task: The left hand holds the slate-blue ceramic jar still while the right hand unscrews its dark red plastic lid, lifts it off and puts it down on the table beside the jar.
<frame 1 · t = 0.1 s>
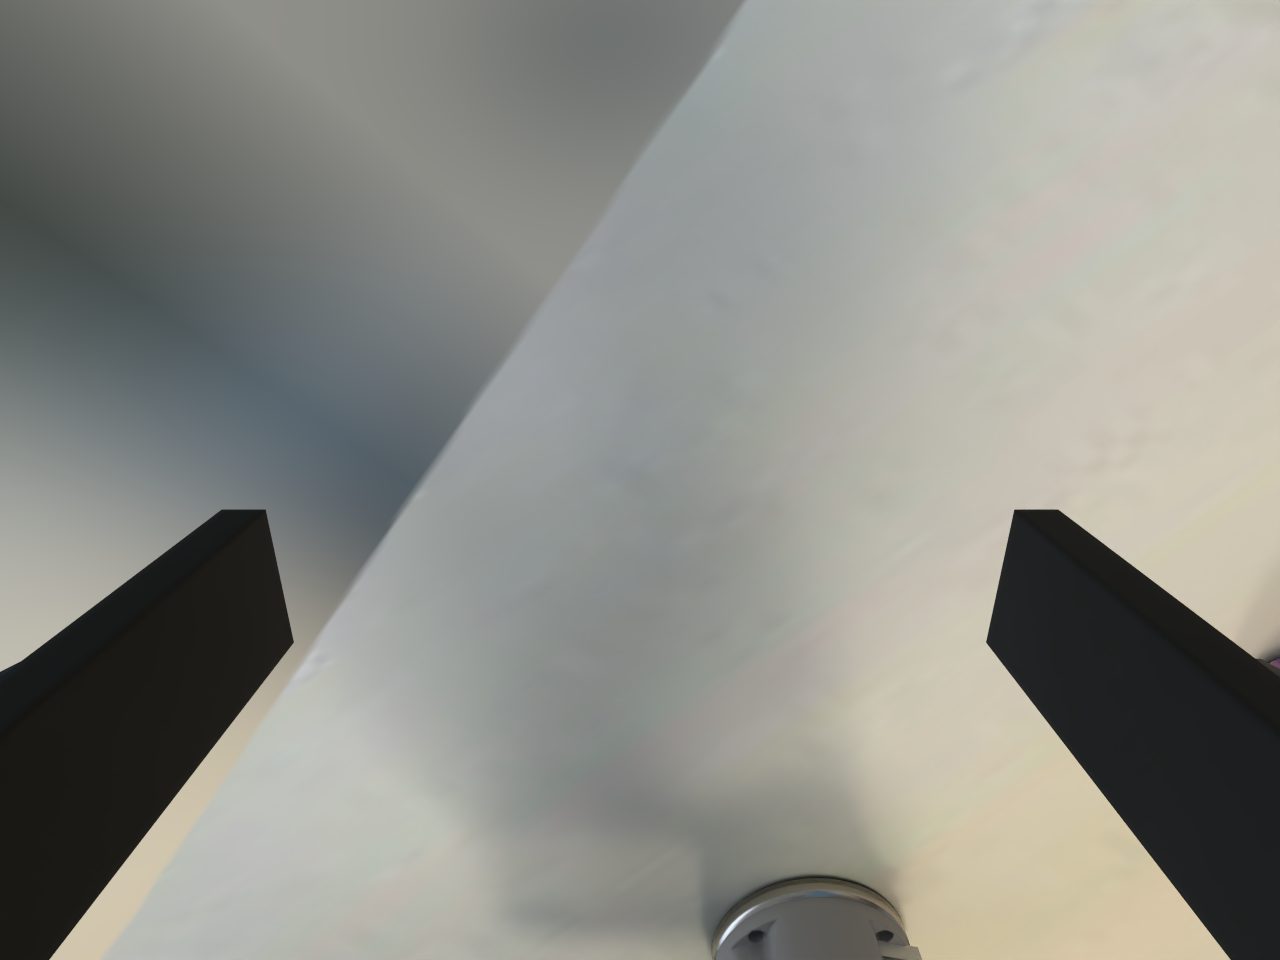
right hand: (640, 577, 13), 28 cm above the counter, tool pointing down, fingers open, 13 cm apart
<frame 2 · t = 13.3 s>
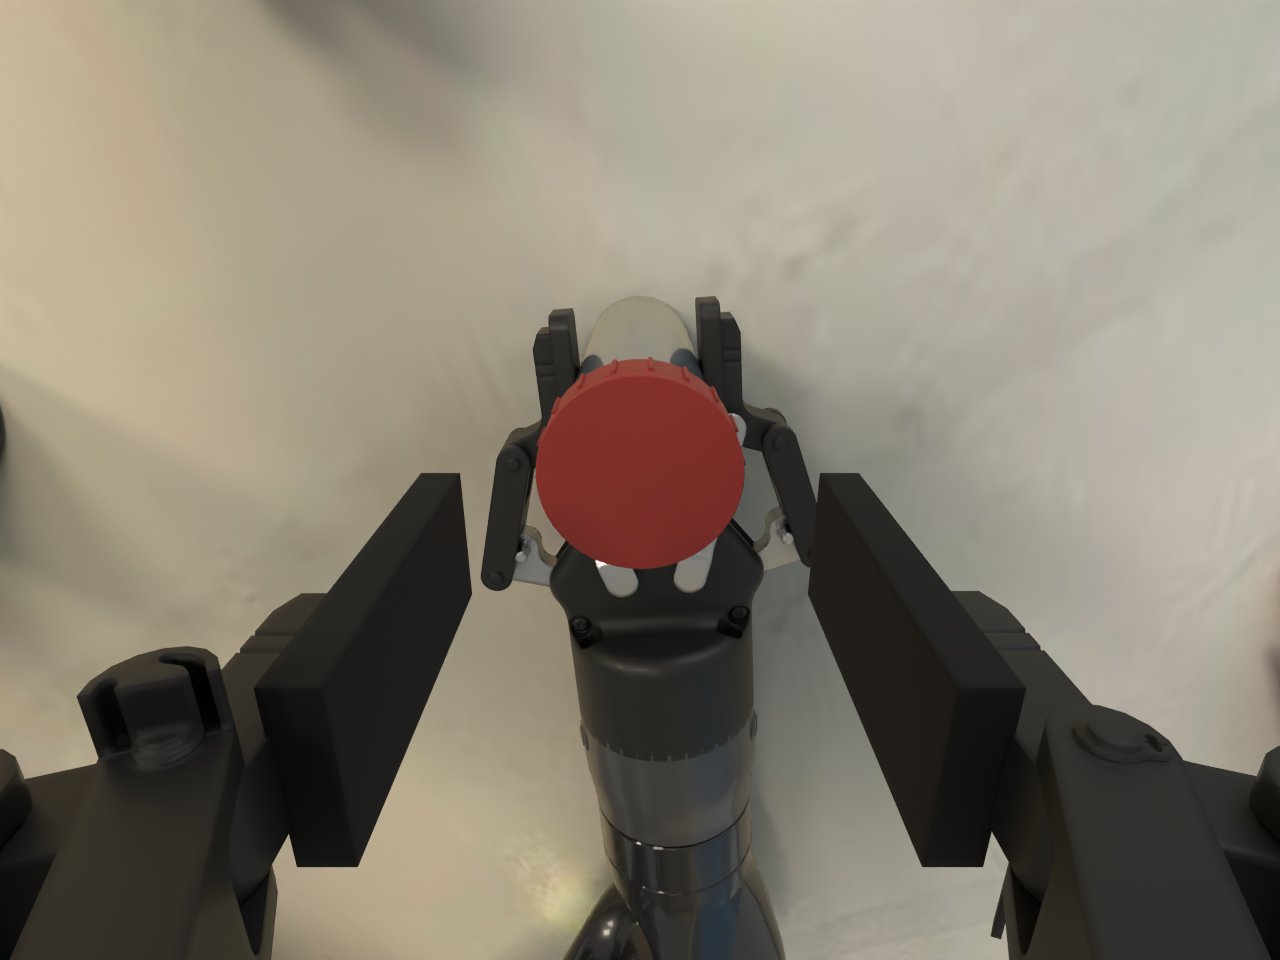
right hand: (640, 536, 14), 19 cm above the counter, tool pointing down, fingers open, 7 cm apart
left hand: (634, 308, 25), fingers closed on jar, 4 cm apart
jar: (640, 347, 32), on the counter, touching left hand
lid: (640, 472, 18), point 16 cm above the counter, screwed on, not yet turned
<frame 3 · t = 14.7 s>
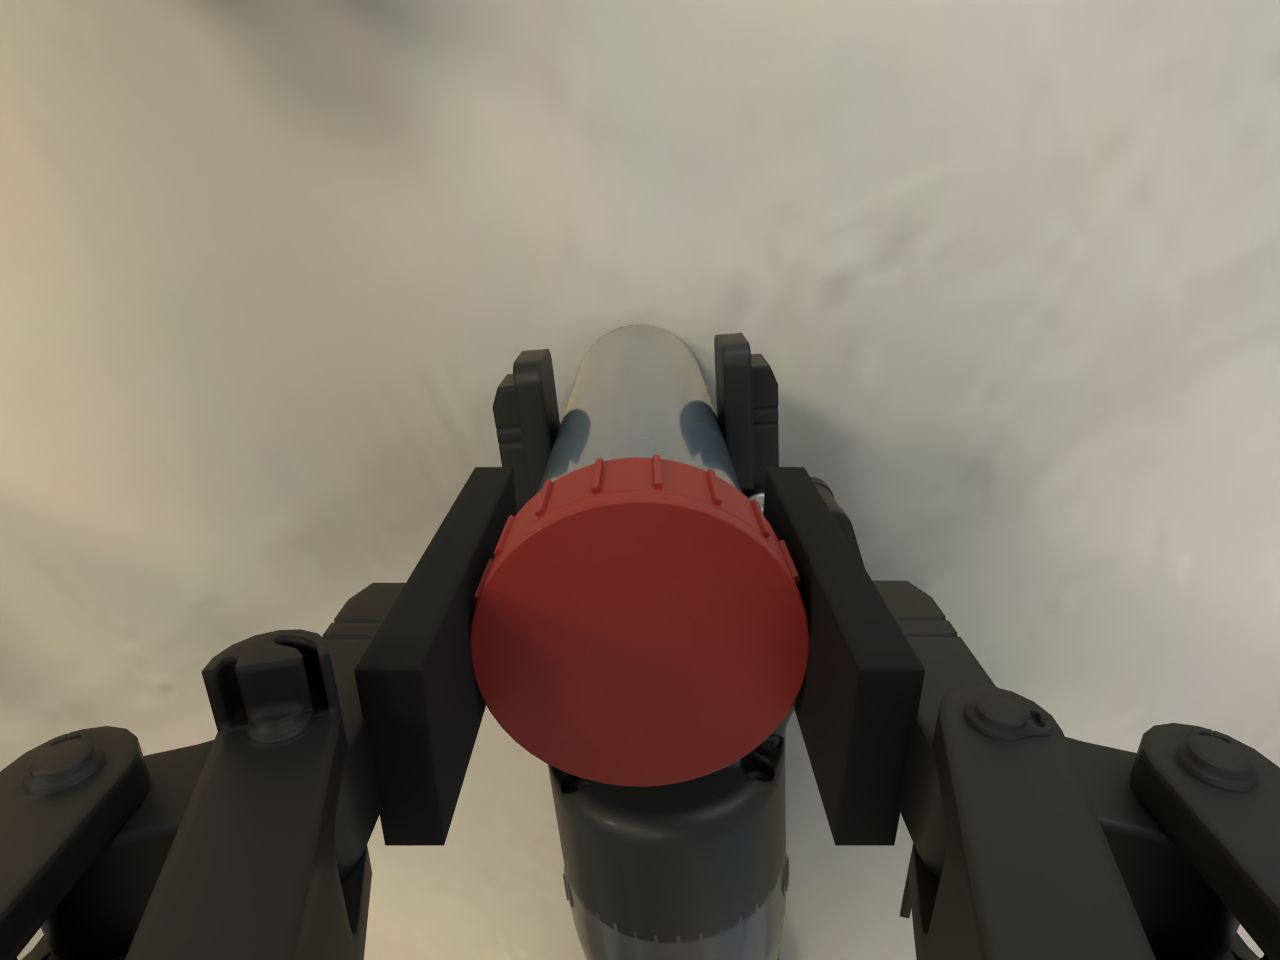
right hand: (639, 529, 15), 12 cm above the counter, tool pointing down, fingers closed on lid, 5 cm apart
jar: (639, 387, 25), on the counter, touching left hand
lid: (639, 643, 11), point 16 cm above the counter, screwed on, not yet turned, touching right hand
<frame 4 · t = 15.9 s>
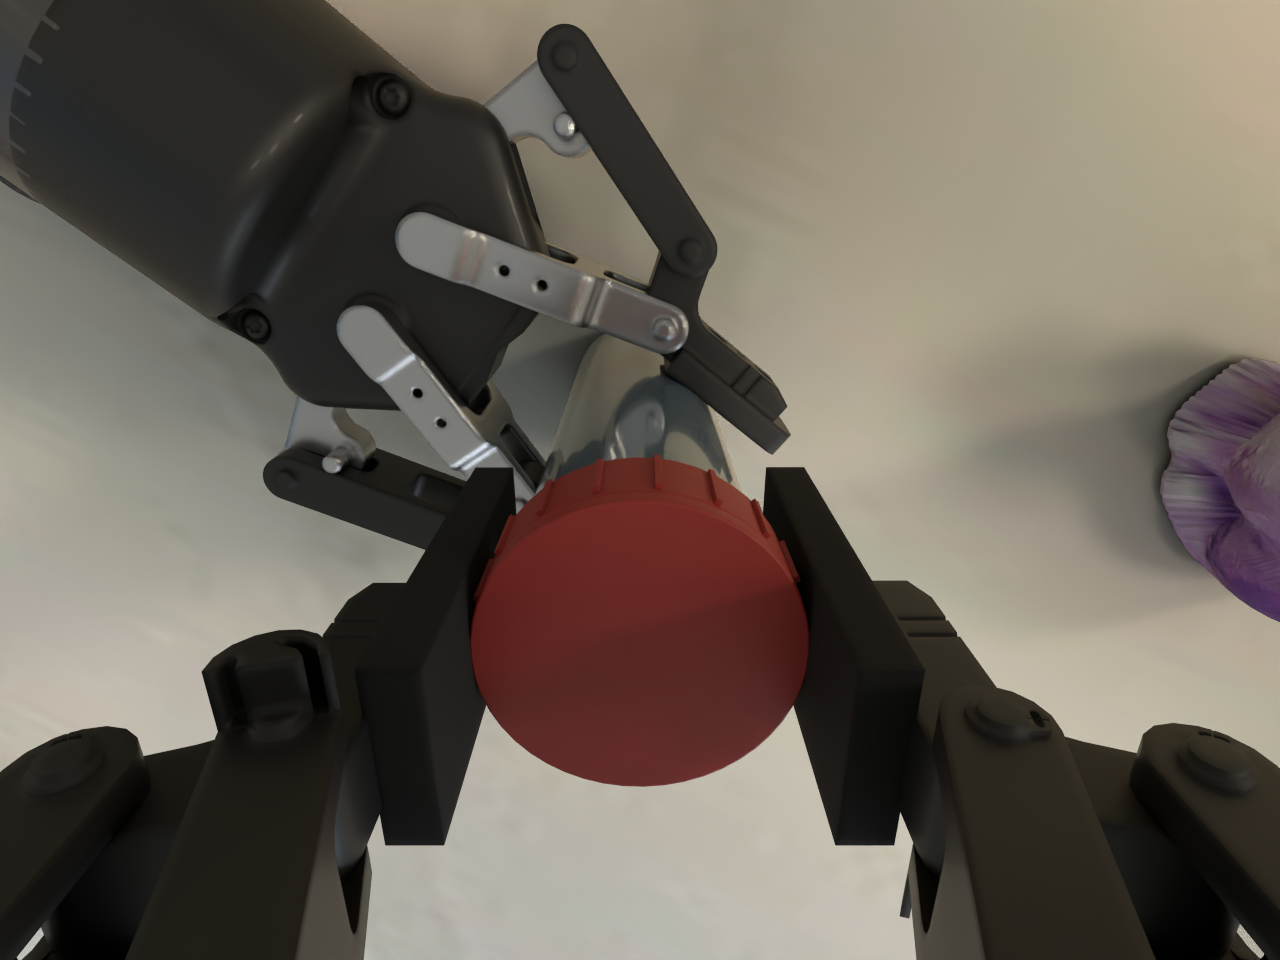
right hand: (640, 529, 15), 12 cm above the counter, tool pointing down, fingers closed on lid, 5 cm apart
left hand: (712, 502, 20), fingers closed on jar, 4 cm apart
jar: (639, 384, 26), on the counter, touching left hand
lid: (639, 643, 11), point 16 cm above the counter, off its thread, touching right hand
figurine: (1249, 469, 27), on the counter
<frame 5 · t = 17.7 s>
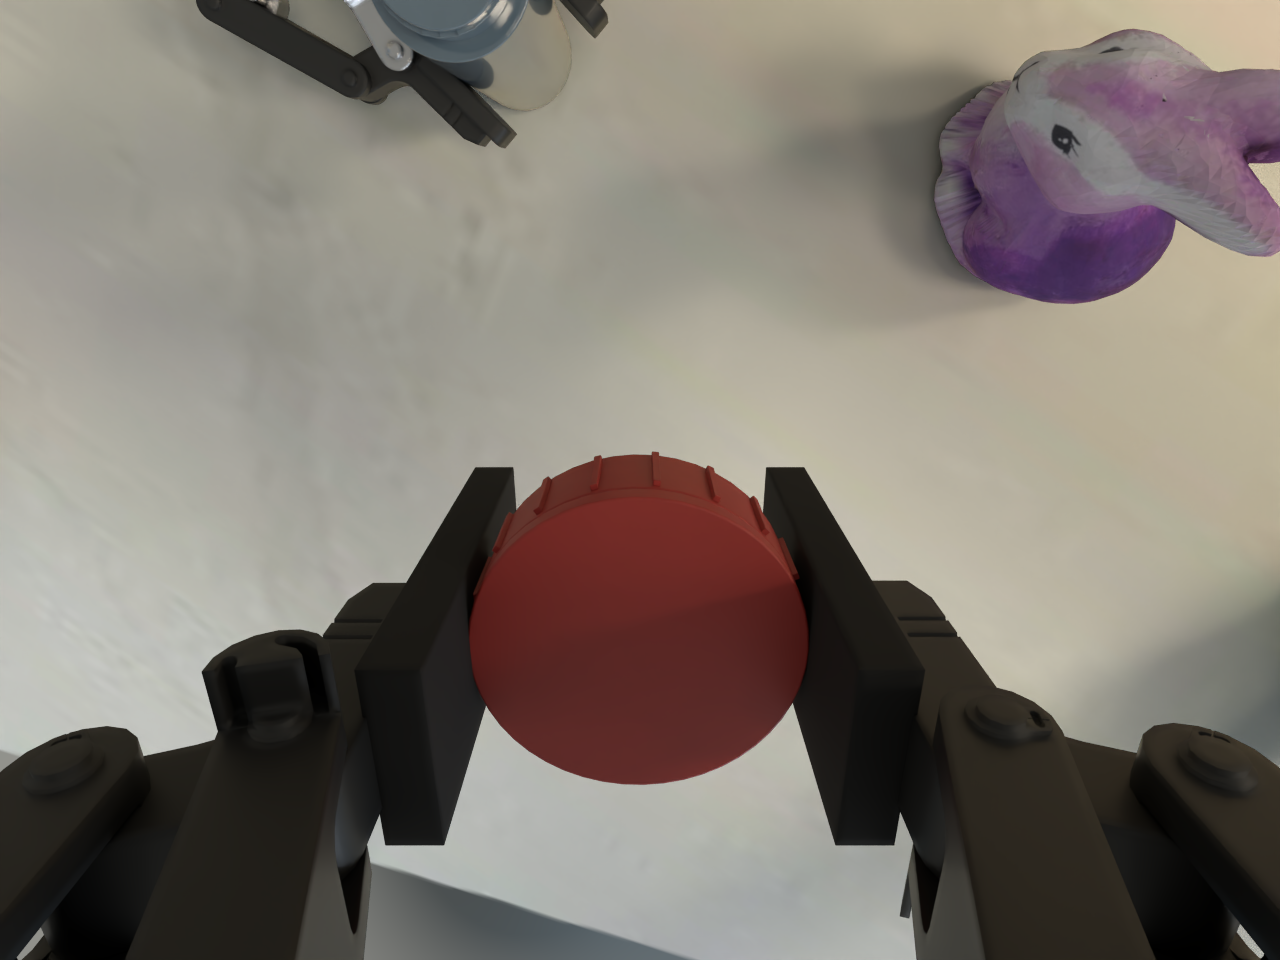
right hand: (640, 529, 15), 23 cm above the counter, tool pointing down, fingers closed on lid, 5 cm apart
jar: (520, 54, 32), on the counter, touching left hand
lid: (638, 640, 11), point 27 cm above the counter, off its thread, touching right hand
figurine: (1004, 188, 34), on the counter
when the right hand's fingers open (0 cm above the counter, at t = 21.1 s): lid drops 3 cm, point 1 cm above the counter.
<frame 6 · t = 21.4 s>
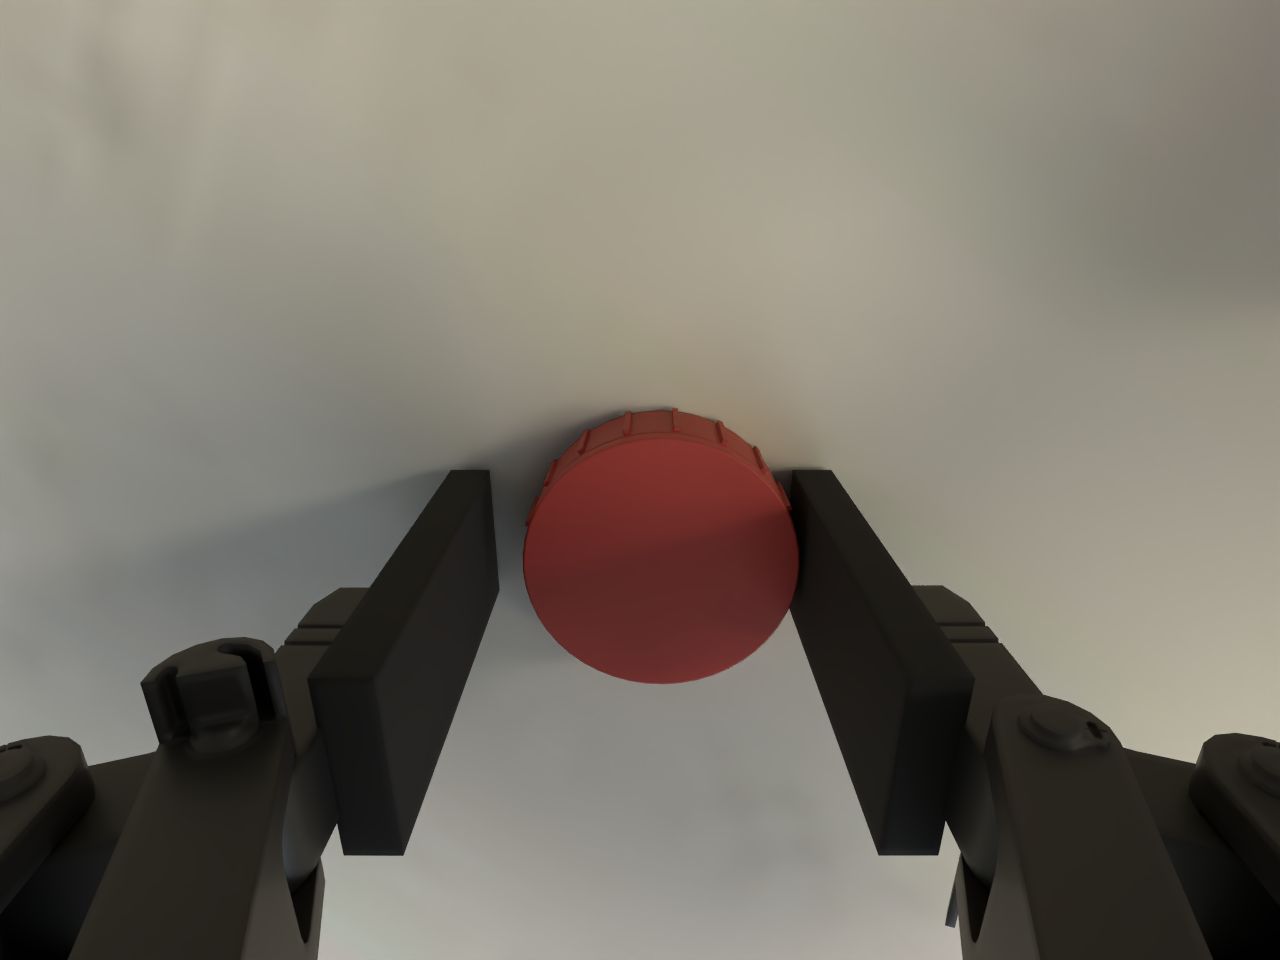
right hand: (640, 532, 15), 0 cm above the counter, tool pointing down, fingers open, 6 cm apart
lid: (660, 561, 13), point 1 cm above the counter, off its thread
when the left hand's fingers open (7 cm above the counter, at t = 22.2 s): jar stays where it is, on the counter.
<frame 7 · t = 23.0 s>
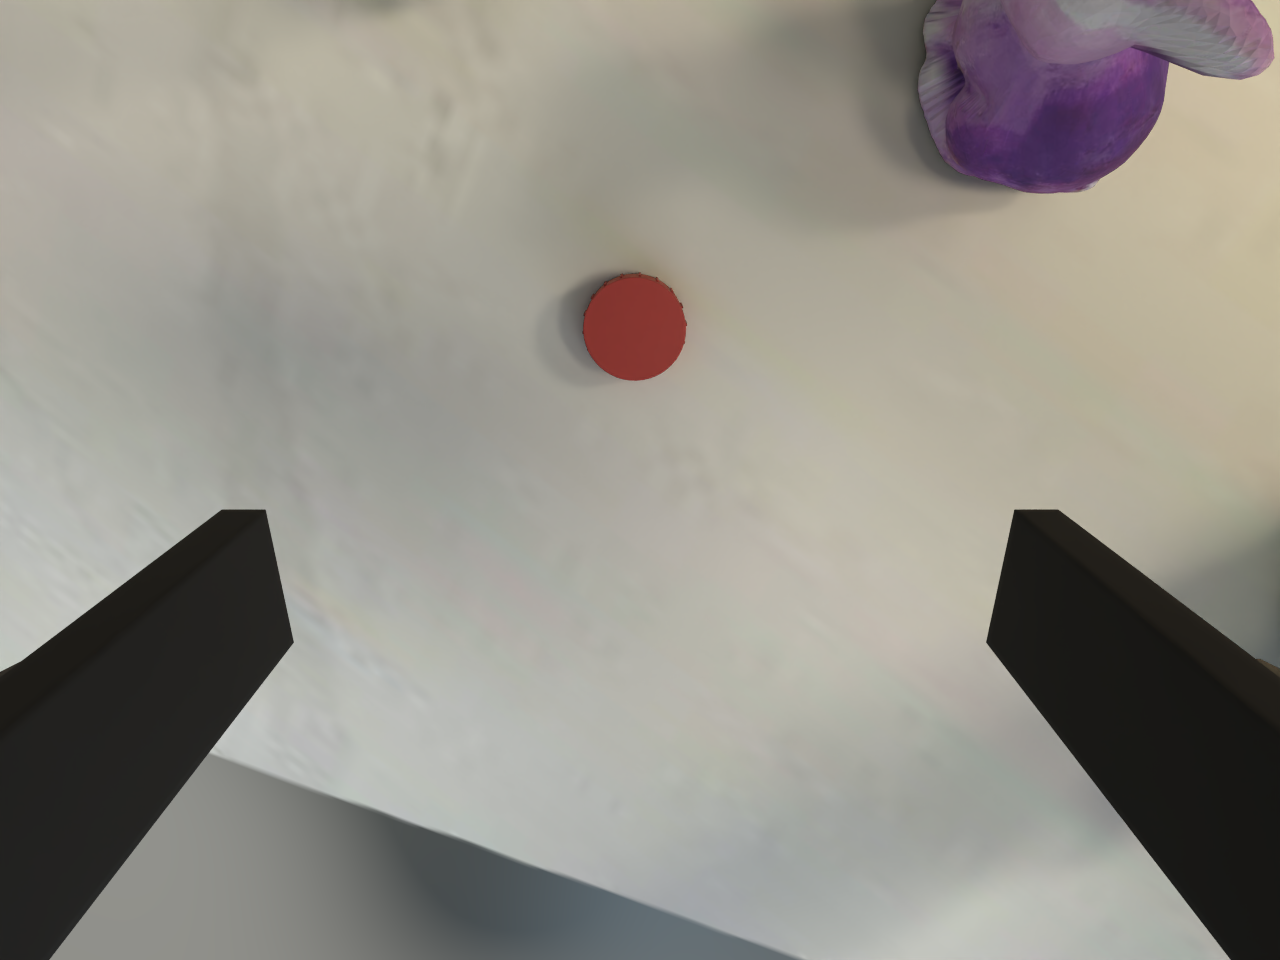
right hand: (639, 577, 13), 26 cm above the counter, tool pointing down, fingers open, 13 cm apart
lid: (634, 329, 36), point 1 cm above the counter, off its thread
figurine: (991, 80, 33), on the counter
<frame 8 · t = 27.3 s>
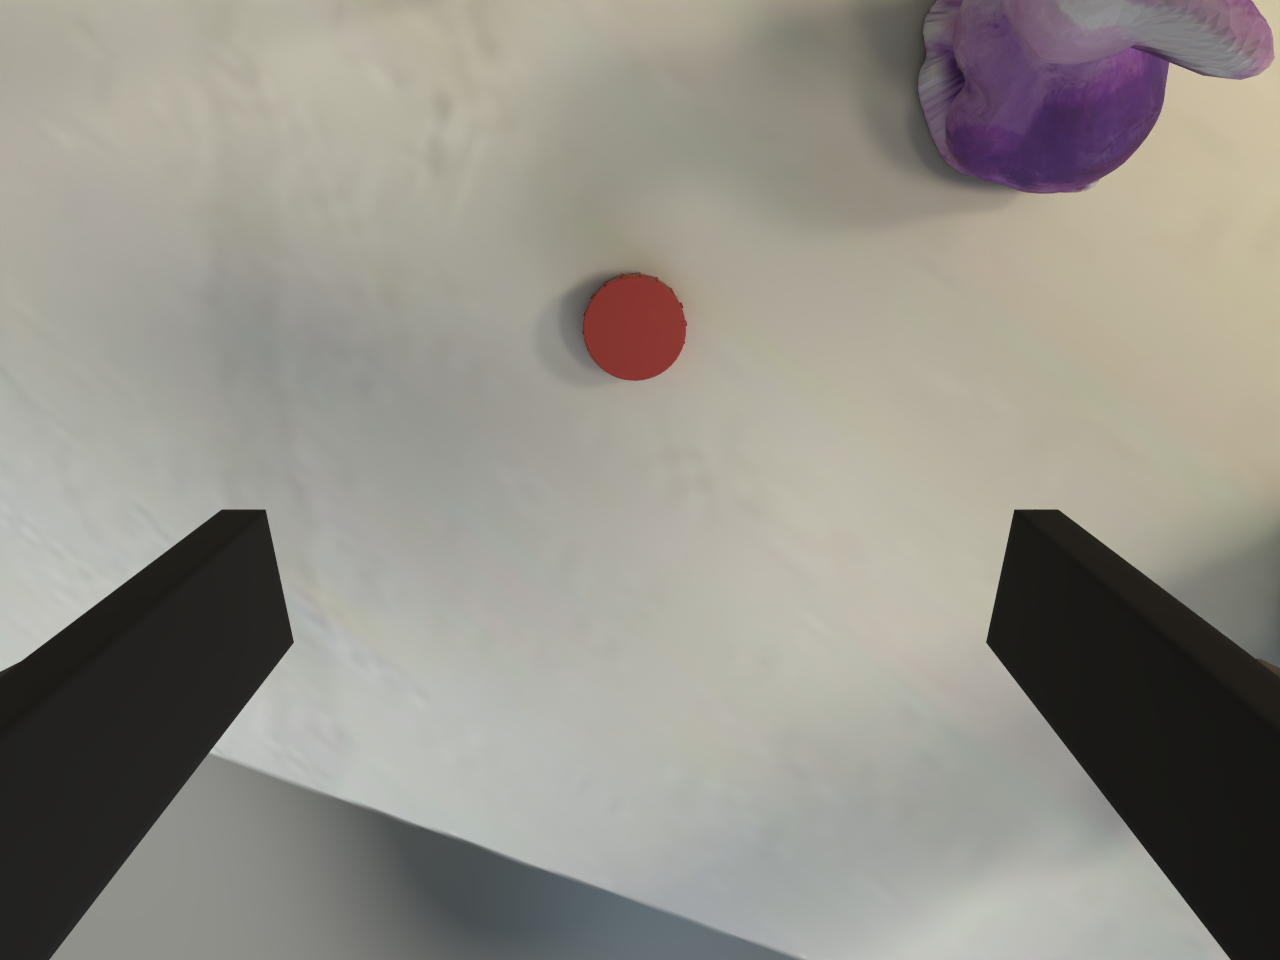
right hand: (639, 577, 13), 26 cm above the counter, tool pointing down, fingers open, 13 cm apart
lid: (634, 329, 36), point 1 cm above the counter, off its thread
figurine: (991, 80, 33), on the counter
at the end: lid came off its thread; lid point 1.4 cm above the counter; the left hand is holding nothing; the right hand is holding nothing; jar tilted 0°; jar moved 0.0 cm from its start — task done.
